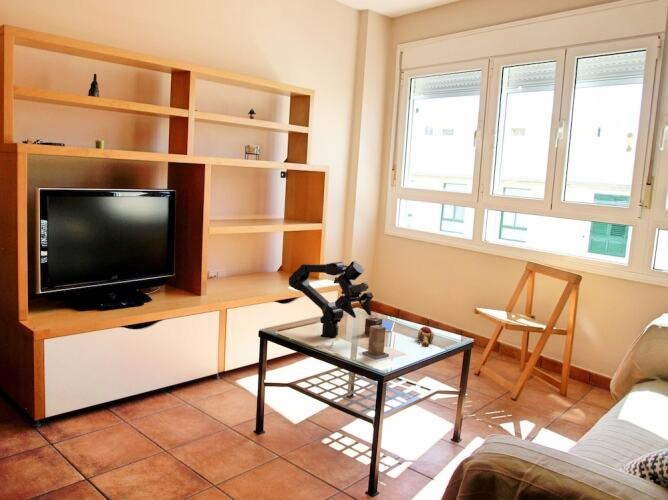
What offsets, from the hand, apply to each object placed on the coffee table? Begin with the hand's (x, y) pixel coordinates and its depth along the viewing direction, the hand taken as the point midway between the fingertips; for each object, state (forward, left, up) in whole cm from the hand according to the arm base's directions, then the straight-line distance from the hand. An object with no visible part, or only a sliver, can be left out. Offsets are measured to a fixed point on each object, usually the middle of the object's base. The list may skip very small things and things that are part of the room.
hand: (362, 316), depth 248 cm
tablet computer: (0, +39, -14) cm, 41 cm away
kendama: (+25, +22, -14) cm, 36 cm away
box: (0, +23, -14) cm, 27 cm away
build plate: (+12, -8, -14) cm, 20 cm away
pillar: (+10, -11, -13) cm, 20 cm away
